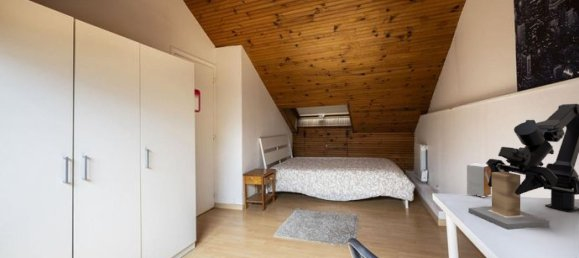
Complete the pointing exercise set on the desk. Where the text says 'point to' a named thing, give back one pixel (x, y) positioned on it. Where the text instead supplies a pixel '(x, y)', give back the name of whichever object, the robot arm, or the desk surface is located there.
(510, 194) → the oak block
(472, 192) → the small box
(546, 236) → the desk surface
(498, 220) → the baseplate
